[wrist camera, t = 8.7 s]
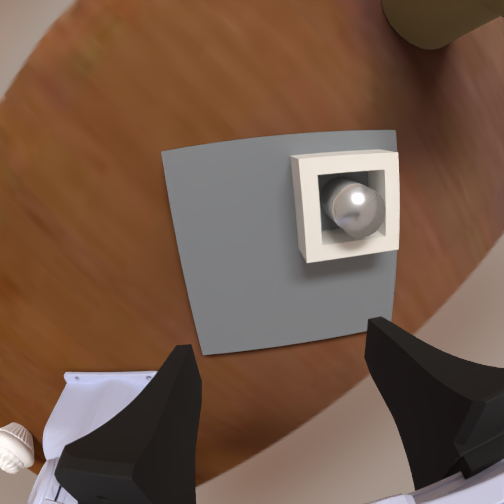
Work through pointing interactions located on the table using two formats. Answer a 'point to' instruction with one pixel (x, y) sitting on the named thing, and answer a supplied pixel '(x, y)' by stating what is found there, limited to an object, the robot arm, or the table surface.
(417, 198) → the table surface
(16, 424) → the white rounded jar shape
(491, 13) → the cork
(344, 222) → the post
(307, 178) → the collar
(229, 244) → the board
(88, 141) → the table surface
